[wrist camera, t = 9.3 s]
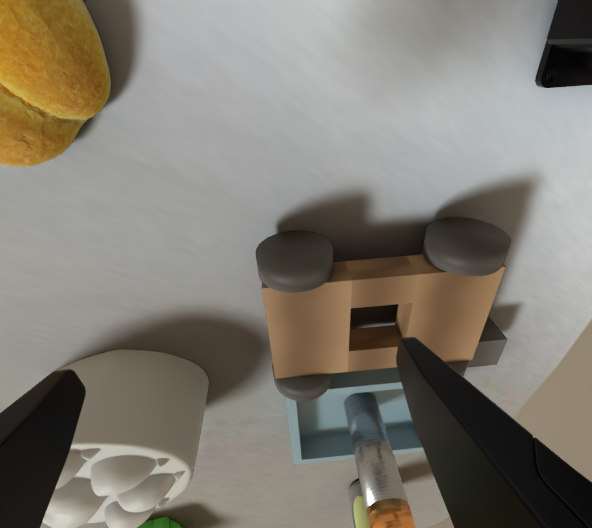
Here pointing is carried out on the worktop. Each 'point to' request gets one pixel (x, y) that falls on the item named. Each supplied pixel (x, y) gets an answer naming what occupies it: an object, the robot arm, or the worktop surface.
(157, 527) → the fruit basket
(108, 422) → the lumpy-topped squat cylinder
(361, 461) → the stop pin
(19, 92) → the bread roll
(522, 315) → the worktop surface
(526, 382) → the worktop surface
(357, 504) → the grey and yellow cylinder
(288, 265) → the dolly
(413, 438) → the tray
